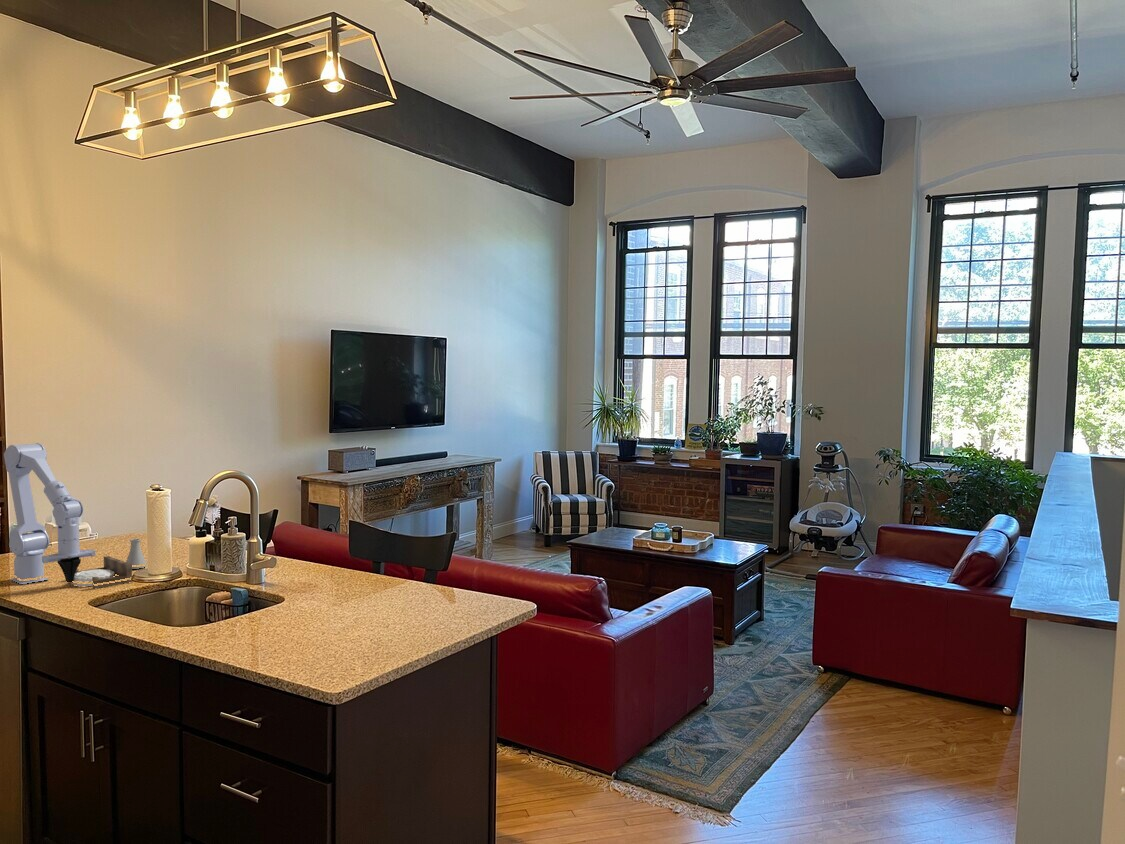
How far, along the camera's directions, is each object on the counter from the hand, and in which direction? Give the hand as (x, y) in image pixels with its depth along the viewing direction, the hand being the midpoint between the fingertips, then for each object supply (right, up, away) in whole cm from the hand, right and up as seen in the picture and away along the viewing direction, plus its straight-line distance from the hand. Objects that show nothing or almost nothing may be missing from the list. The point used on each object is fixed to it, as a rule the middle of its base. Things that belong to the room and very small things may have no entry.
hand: (69, 582), depth 259 cm
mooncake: (+4, -2, +6) cm, 7 cm away
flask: (+7, 0, +26) cm, 27 cm away
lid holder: (+6, -1, +7) cm, 9 cm away
